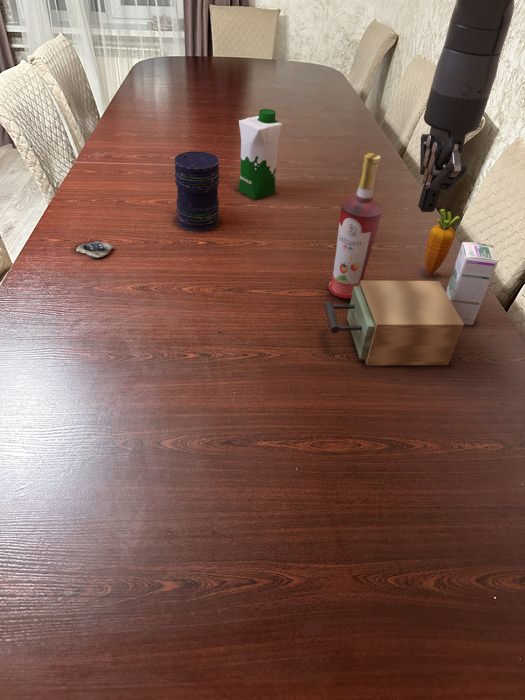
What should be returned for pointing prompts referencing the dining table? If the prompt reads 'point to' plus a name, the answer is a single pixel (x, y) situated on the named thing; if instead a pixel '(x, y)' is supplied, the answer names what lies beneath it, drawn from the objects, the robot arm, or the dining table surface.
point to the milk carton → (259, 154)
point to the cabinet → (411, 323)
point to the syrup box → (471, 279)
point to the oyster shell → (95, 249)
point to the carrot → (439, 242)
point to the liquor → (356, 232)
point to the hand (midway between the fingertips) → (425, 209)
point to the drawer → (354, 321)
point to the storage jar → (197, 190)
